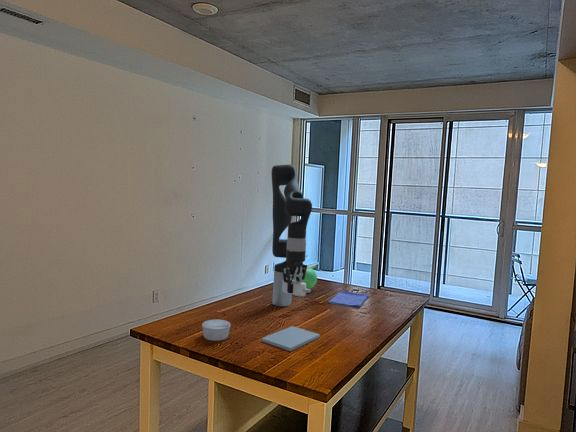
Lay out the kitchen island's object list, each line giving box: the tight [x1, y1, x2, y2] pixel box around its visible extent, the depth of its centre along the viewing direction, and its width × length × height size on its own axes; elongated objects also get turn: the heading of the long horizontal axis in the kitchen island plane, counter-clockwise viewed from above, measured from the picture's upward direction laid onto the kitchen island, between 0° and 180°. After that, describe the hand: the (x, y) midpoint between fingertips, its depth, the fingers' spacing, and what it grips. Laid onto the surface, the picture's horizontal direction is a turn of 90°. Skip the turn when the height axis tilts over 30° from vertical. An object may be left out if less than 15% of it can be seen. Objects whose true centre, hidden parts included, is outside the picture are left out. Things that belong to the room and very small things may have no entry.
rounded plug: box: [282, 279, 312, 297], centre depth 167 cm, size 4×13×4 cm, turn 53°
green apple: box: [292, 264, 318, 289], centre depth 250 cm, size 18×17×15 cm
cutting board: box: [261, 325, 321, 352], centre depth 169 cm, size 20×14×1 cm
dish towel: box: [328, 290, 369, 309], centre depth 232 cm, size 17×24×3 cm
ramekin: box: [201, 318, 231, 342], centre depth 168 cm, size 11×11×5 cm
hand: (293, 291), depth 168 cm, fingers closed on rounded plug, 4 cm apart
